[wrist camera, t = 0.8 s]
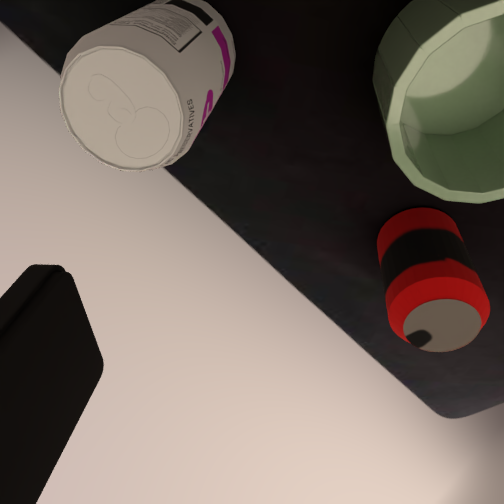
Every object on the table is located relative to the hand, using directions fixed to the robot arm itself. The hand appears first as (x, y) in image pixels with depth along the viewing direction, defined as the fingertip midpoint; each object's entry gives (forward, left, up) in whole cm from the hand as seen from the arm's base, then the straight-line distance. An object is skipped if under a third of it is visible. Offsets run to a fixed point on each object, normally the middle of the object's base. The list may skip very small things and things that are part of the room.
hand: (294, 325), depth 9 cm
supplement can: (+2, -10, -32) cm, 34 cm away
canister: (+2, +11, -32) cm, 34 cm away
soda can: (+18, +12, -32) cm, 39 cm away
